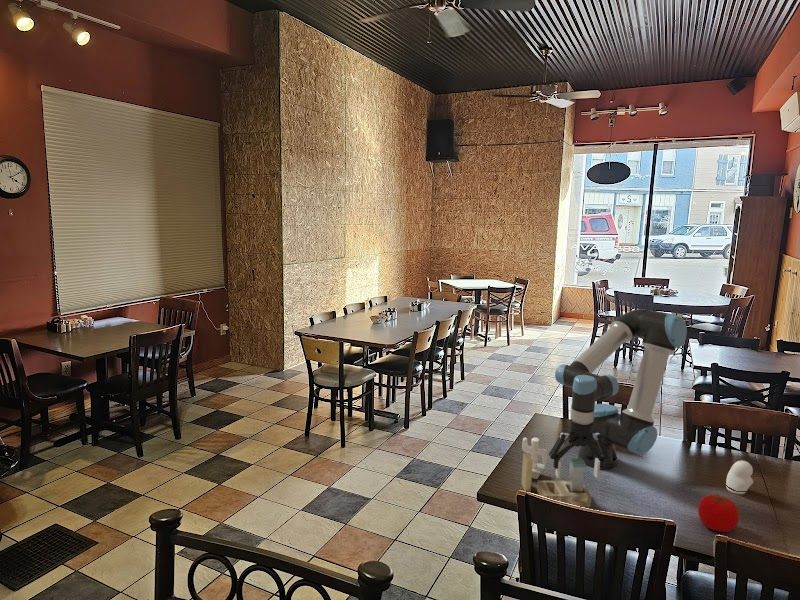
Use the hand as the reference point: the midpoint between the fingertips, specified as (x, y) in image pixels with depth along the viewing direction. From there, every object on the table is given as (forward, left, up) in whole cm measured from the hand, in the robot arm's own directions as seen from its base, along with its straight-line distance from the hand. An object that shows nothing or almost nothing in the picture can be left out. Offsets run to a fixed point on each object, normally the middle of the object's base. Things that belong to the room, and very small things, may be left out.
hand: (576, 476), depth 185 cm
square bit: (0, 0, -8) cm, 8 cm away
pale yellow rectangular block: (+16, -7, -8) cm, 19 cm away
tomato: (-41, +15, -9) cm, 45 cm away
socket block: (+4, 0, -8) cm, 9 cm away
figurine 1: (+11, -15, -9) cm, 21 cm away
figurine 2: (-63, -7, -9) cm, 64 cm away
